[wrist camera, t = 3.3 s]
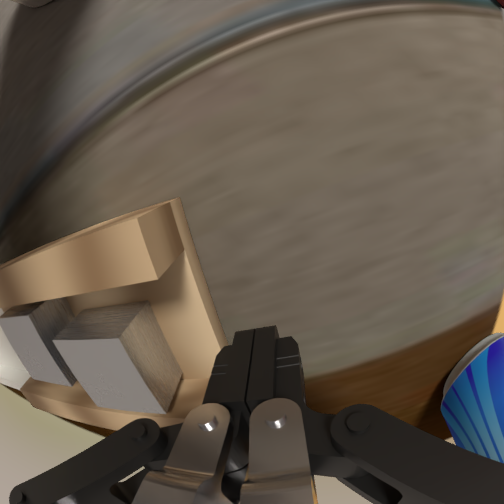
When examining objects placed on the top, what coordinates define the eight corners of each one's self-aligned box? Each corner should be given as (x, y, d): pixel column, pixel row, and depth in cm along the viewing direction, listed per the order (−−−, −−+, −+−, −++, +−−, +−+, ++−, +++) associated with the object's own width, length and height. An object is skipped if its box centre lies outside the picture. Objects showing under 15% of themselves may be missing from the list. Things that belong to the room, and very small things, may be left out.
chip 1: (61, 288, 12) (28, 315, 9) (96, 354, 14) (72, 386, 11) (25, 296, 13) (-4, 318, 10) (55, 353, 14) (32, 378, 11)
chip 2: (148, 300, 12) (118, 338, 9) (182, 372, 13) (166, 414, 10) (83, 309, 12) (52, 340, 10) (118, 372, 14) (97, 406, 11)
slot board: (179, 197, 11) (137, 217, 7) (243, 385, 15) (236, 439, 11) (-4, 267, 14) (-37, 287, 10) (55, 379, 17) (33, 407, 14)
